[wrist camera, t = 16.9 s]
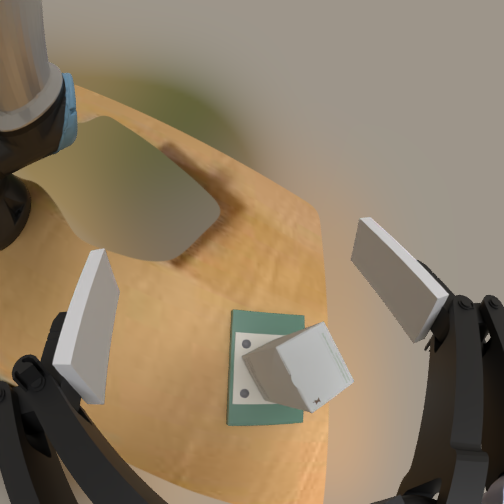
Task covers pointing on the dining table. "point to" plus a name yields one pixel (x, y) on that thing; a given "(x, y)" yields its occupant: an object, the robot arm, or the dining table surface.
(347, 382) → the skincare box
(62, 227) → the dining table surface
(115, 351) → the dining table surface
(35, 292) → the dining table surface
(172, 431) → the dining table surface
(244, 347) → the board
